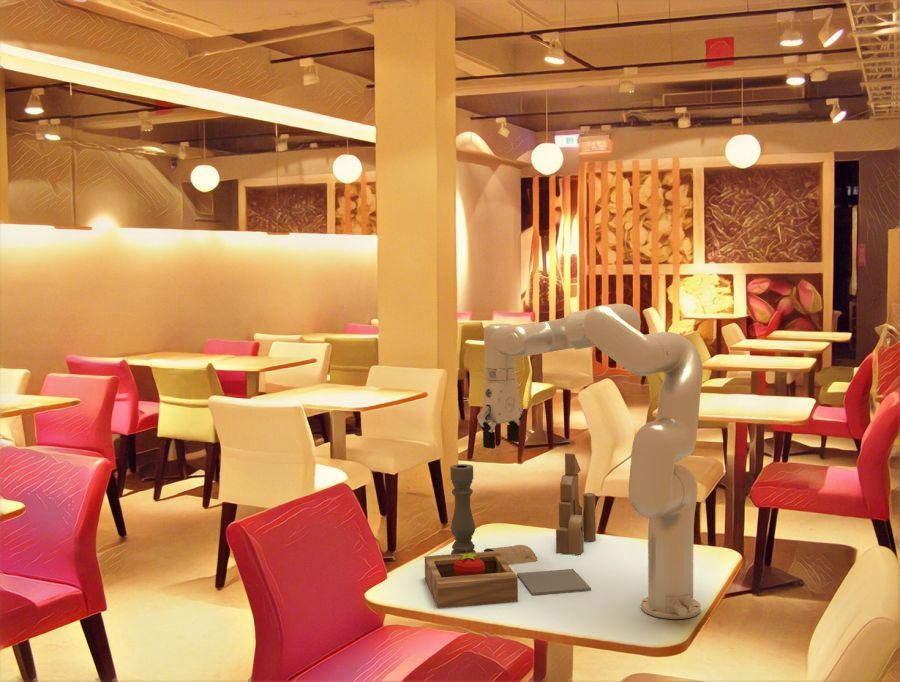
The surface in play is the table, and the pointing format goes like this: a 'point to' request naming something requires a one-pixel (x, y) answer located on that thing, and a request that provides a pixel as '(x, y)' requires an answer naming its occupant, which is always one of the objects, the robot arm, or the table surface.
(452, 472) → the candle holder
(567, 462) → the wooden toy
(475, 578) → the wooden box
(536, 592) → the mat
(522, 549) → the clay tablet
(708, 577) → the table surface
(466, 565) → the strawberry
